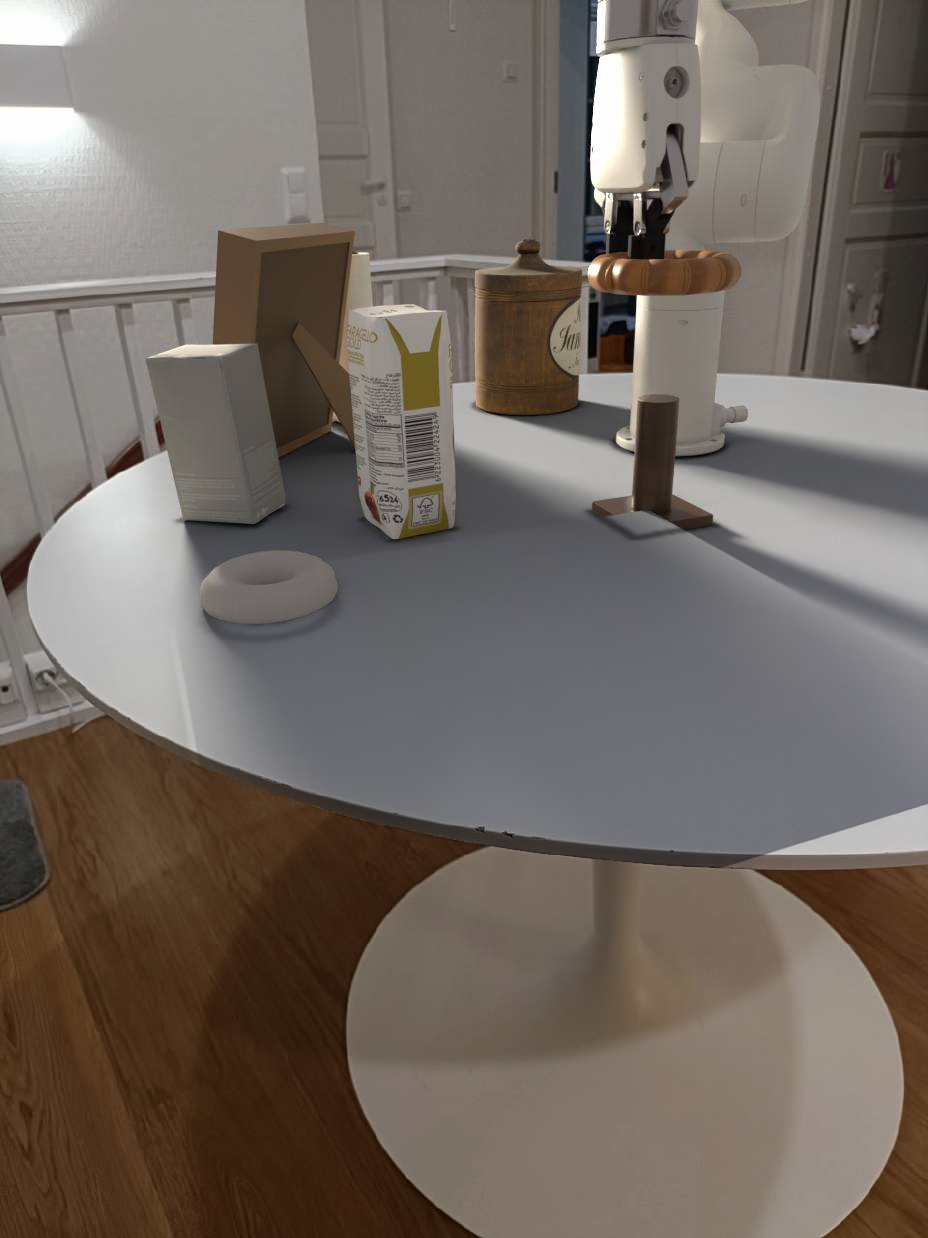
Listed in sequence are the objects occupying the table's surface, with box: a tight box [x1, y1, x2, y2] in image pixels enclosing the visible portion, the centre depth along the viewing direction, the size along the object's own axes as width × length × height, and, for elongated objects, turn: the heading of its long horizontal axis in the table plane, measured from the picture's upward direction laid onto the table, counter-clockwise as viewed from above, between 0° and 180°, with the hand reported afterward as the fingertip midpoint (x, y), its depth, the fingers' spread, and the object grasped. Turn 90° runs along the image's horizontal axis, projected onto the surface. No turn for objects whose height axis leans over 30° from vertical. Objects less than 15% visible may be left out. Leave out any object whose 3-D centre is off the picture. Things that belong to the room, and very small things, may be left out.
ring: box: [587, 250, 742, 296], centre depth 71 cm, size 12×12×3 cm
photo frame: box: [212, 222, 356, 459], centre depth 100 cm, size 15×22×25 cm
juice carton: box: [347, 303, 457, 540], centre depth 78 cm, size 8×9×19 cm
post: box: [591, 394, 714, 530], centre depth 79 cm, size 8×8×11 cm
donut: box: [199, 549, 339, 625], centre depth 65 cm, size 10×4×10 cm
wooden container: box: [474, 238, 583, 416], centre depth 122 cm, size 15×15×22 cm
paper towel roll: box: [333, 250, 374, 423], centre depth 116 cm, size 7×6×21 cm
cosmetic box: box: [145, 344, 287, 525], centre depth 82 cm, size 8×7×16 cm
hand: (633, 282), depth 76 cm, fingers closed on ring, 2 cm apart
